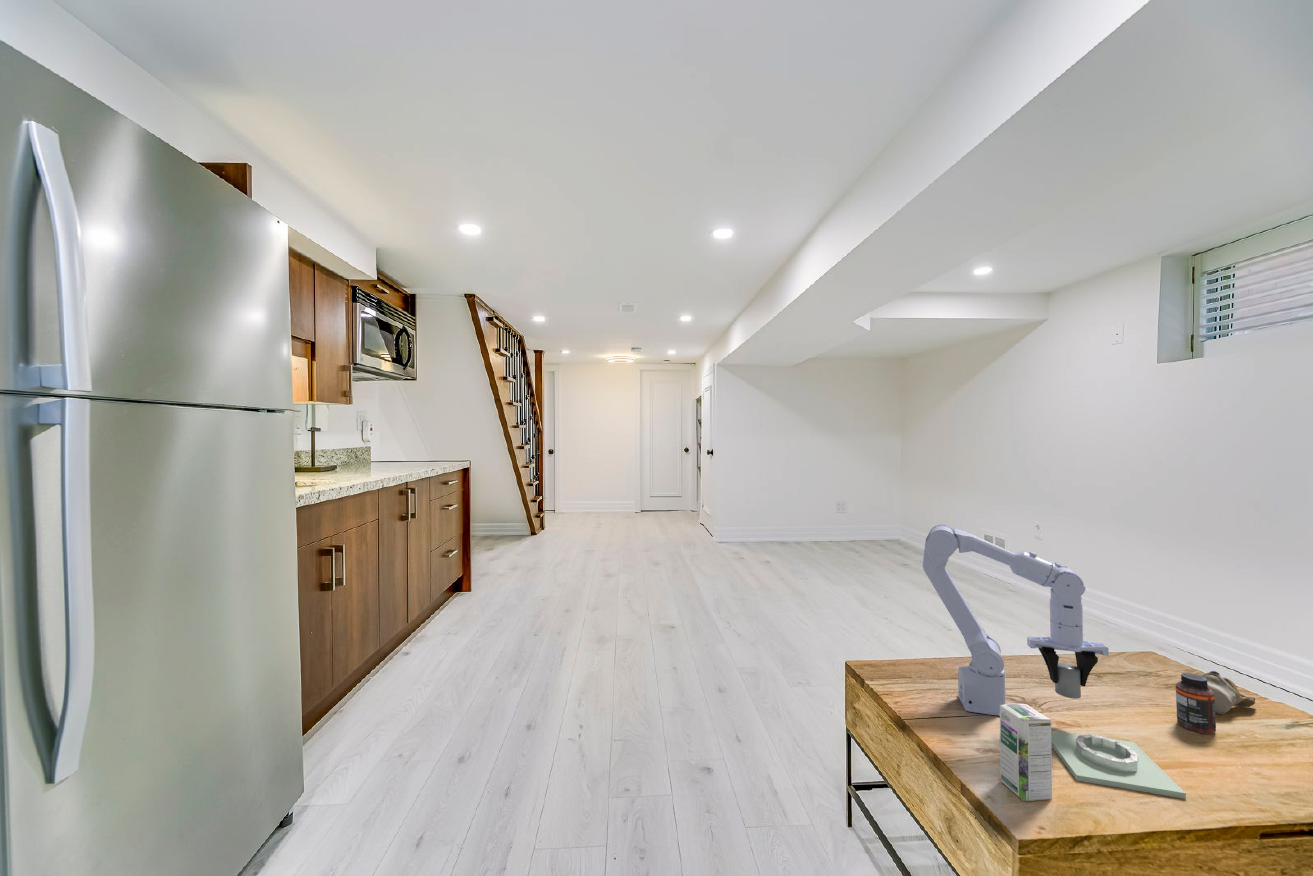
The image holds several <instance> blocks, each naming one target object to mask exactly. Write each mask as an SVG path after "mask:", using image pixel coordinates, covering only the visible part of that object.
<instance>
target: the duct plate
mask: <svg viewBox="0 0 1313 876" xmlns="http://www.w3.org/2000/svg"><path fill="white" fill-rule="evenodd" d="M1079 735H1081V734H1079V733H1072V732H1064V731H1059V730H1058V731H1057V730H1052V729H1051V748H1052V747H1053V748H1054V749H1053V748H1052V749H1053V750H1054V751H1056V752H1055V753H1056V755H1059V756H1058V757H1059V758H1060V760H1061V761H1062V763H1063V764H1064V765H1065V767H1066V768H1067V769H1068V771H1069V772H1070V773H1071V775H1072V777H1074V779H1075V780H1076V781H1078V782H1084V783H1090V784H1096V785H1101V786H1102V785H1103V786H1107V787H1113V788H1120V789H1123V790H1124V789H1125V790H1130V791H1138V792H1143V793H1148V792H1149V793H1150V794H1155V795H1161V796H1168V797H1172V798H1178V799H1185V800H1186V799H1187V794H1186V792H1185V791H1184V790H1183V789H1182V788H1181V787H1180V786H1179V785H1178V784H1177V783H1176V782H1175V781H1174V779H1172V778H1171V777H1170V776H1169V775H1168V774H1167V773H1166V772H1165V771H1164V770H1163V769H1162V768H1161V767H1160V766H1159V765H1158V764H1157V763H1156V762H1155V761H1153V760H1152V759H1151V758H1150V757H1149V755H1148V754H1146V753H1145V751H1143V750H1142V748H1141V747H1139V746H1138V745H1137V744H1136V743H1135V742H1133V741H1127V740H1120V739H1113V738H1111V739H1112V740H1115V741H1118V742H1120V743H1122V744H1124V745H1126V746H1128V747H1130V748H1131V749H1132V750H1133V751H1134V752H1135V753H1136V754H1137V755H1138V758H1139V767H1138V770H1137V772H1132V773H1122V772H1116V771H1111V770H1108V769H1105V768H1102V767H1100V766H1097V765H1094V764H1093V763H1091V762H1089V761H1088V760H1086V759H1084V758H1082V757H1081V755H1080V754H1079V753H1078V752H1077V750H1076V739H1077V737H1078V736H1079ZM1088 748H1089V749H1091V750H1093V751H1095V752H1096V753H1099V754H1102V755H1105V756H1108V757H1111V758H1117V759H1126V758H1124V757H1122V756H1121V755H1119V754H1117V753H1115V752H1112V751H1109V750H1106V749H1103V748H1096V747H1088Z"/></svg>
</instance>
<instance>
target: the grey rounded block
mask: <svg viewBox="0 0 1313 876" xmlns="http://www.w3.org/2000/svg"><path fill="white" fill-rule="evenodd" d="M1057 671H1058V683H1054V692H1055V693H1057V694H1058V695H1060V696H1061V697H1065V698H1069V699H1072V700H1073V699H1075V700H1076V699H1080V698H1081V697H1082V693H1081V692H1082V691H1081V689H1082V688H1081V687H1082V686H1081V681H1080V668H1078V667H1077V665H1074V664H1071V663H1067V662H1058V669H1057Z"/></svg>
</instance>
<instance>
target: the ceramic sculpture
mask: <svg viewBox="0 0 1313 876" xmlns="http://www.w3.org/2000/svg"><path fill="white" fill-rule="evenodd" d="M1200 676H1203V677H1205V678H1206V679H1207V684H1208V685H1207V687H1208V688H1210V689H1211V690H1212V691H1213V692H1214V696H1215V714H1217V715H1218V714H1219V715H1224V714H1226V713H1228V712H1229V711H1231V709H1232V707H1234V706H1235V707H1240V708H1250V707H1253V706H1254V705H1255V704H1256V697H1253V696H1252V697H1251V696H1246V695H1244V694H1241V693H1240V691H1239V689H1238V688H1237V685H1236V683H1234V682H1233V681H1232V680H1231V679H1230V678H1228V677H1226V676H1224V675H1223V676H1222V675H1220V673H1219V672H1217V671H1215V670H1214V671H1213V670H1211V671H1209V672H1205V673H1203V674H1201V675H1200Z"/></svg>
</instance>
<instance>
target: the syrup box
mask: <svg viewBox="0 0 1313 876" xmlns="http://www.w3.org/2000/svg"><path fill="white" fill-rule="evenodd" d="M1051 730H1052V719H1051V718H1049V717H1047V716H1045V715H1044V714H1042V713H1040V712H1039V711H1038V710H1036V709H1034V708H1033V707H1031V706H1029V705H1028V704H1027V703H1005V704H1004V705H1000V716H999V743H1000V745H999V748H1000V749H999V751H1000V752H999V753H1000V754H999V757H1000V758H999V759H1000V761H999V762H1000V763H999V764H1000V765H999V767H1000V771H999V772H1000V773H999V774H1000V776H999V778H1000V782H1001V783H1002V784H1004V785H1005V786H1006V787H1007V788H1008V789H1009V790H1010V791H1011V792H1012V793H1014V794H1016V796H1017V797H1019V798H1020V799H1021V800H1022V801H1023V802H1033V801H1034V802H1036V801H1045V800H1052V799H1053V783H1052V782H1053V779H1052V778H1053V775H1052V774H1053V772H1052V771H1053V769H1052V768H1053V767H1052V764H1053V763H1052V762H1053V761H1052V759H1053V758H1052V746H1051Z"/></svg>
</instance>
